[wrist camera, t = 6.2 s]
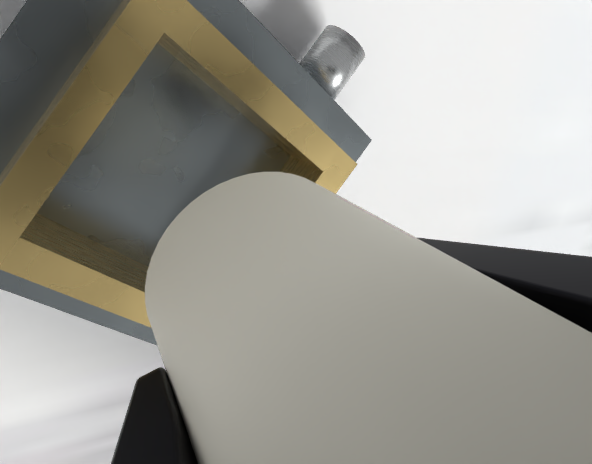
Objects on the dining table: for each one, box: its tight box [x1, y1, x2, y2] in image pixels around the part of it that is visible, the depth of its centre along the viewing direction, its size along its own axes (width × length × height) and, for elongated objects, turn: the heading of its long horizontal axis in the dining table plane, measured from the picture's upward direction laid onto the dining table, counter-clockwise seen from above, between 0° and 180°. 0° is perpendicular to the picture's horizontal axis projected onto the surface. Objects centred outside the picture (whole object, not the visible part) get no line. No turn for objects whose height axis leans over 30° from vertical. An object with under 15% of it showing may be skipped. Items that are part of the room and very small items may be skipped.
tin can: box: [145, 172, 592, 464], centre depth 6 cm, size 5×5×7 cm
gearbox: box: [0, 0, 371, 345], centre depth 15 cm, size 14×12×6 cm
